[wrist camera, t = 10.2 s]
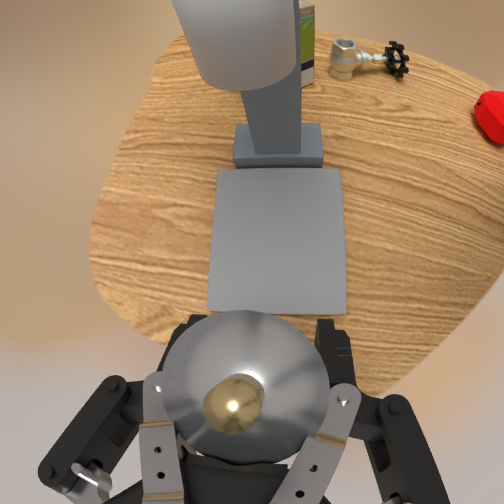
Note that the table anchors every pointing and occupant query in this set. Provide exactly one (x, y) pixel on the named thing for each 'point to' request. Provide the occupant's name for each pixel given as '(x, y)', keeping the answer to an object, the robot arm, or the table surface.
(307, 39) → the tea box
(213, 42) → the press
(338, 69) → the valve
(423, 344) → the table surface
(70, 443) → the robot arm
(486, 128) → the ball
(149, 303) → the table surface
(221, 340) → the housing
